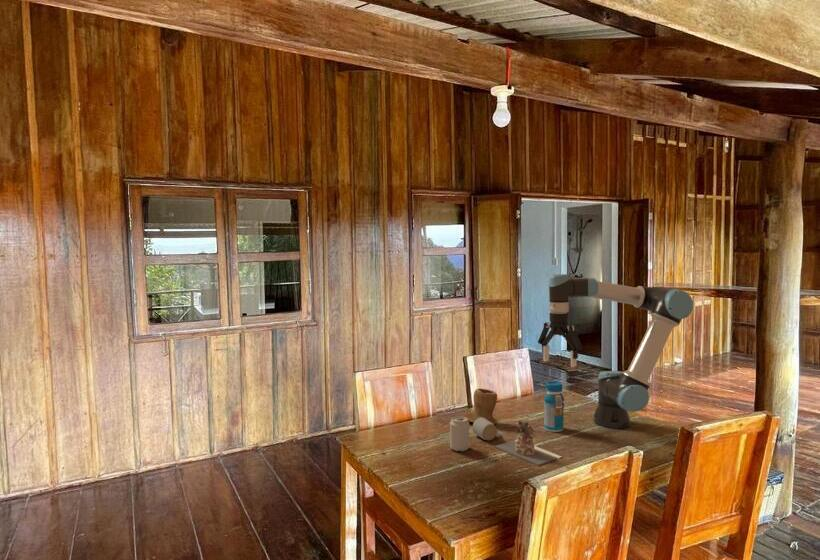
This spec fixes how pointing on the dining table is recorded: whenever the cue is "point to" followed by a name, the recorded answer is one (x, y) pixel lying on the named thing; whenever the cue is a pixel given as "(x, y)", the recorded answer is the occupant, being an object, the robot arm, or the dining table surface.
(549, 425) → the beverage bottle
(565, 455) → the dining table surface
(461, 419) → the can
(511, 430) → the dining table surface
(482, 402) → the brown boot planter
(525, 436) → the figurine
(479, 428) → the ceramic mug
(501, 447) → the mat
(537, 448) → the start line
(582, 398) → the dining table surface
